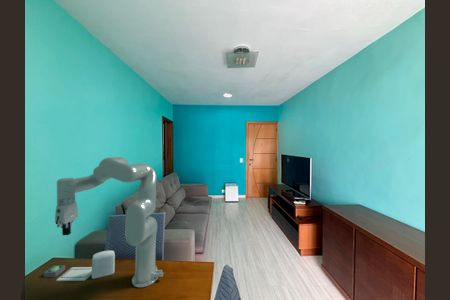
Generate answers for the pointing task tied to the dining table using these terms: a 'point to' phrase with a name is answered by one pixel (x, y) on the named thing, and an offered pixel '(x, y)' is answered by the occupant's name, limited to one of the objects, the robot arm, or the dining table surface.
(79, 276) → the paper board
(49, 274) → the button housing
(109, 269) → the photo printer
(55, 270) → the button
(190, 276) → the dining table surface
